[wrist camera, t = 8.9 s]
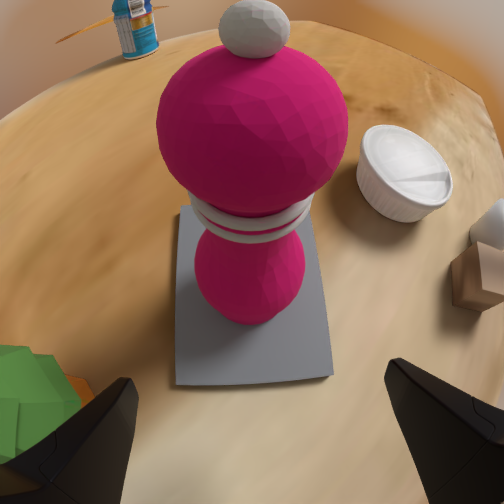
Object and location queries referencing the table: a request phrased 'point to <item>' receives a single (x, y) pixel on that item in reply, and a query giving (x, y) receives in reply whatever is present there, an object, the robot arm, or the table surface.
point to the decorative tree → (34, 398)
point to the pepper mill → (251, 157)
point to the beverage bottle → (135, 27)
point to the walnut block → (478, 277)
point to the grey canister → (490, 227)
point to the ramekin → (402, 174)
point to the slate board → (248, 326)
